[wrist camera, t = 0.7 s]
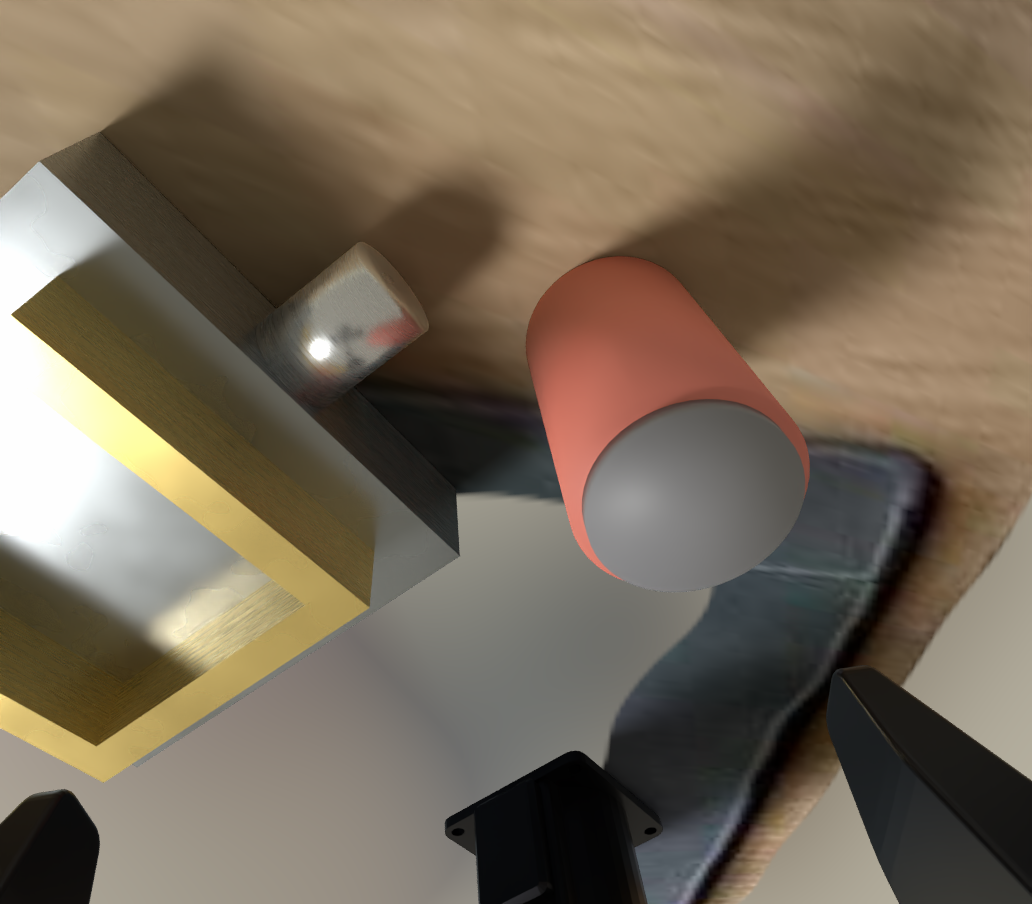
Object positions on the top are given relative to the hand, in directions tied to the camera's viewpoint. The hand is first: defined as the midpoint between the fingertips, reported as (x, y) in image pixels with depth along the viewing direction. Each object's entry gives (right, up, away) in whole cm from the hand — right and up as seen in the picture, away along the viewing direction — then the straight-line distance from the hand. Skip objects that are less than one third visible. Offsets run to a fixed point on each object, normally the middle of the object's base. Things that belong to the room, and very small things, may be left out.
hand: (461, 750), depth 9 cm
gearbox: (-8, +4, +11) cm, 14 cm away
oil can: (+3, +6, +11) cm, 13 cm away
